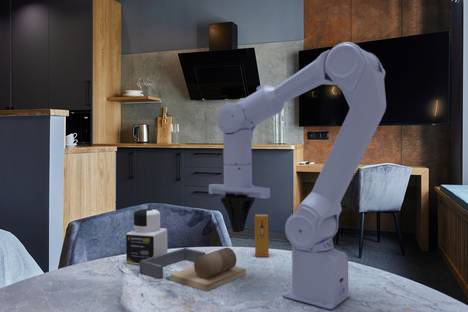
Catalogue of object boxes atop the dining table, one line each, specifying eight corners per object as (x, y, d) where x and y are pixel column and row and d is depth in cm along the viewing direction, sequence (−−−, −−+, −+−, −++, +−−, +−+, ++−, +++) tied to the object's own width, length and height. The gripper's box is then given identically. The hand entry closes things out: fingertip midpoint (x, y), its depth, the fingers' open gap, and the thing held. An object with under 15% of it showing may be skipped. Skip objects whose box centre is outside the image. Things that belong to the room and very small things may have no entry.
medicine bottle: (125, 263, 91) (125, 211, 91) (141, 255, 98) (141, 207, 98) (153, 266, 89) (153, 213, 89) (168, 257, 96) (167, 208, 96)
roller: (217, 260, 85) (232, 272, 83) (191, 269, 79) (206, 283, 76) (224, 243, 84) (239, 255, 81) (198, 251, 77) (213, 265, 75)
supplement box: (268, 253, 99) (268, 213, 99) (268, 257, 95) (268, 216, 95) (255, 253, 99) (255, 213, 99) (254, 257, 96) (254, 216, 96)
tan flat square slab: (245, 274, 83) (245, 268, 83) (207, 291, 74) (206, 284, 74) (205, 264, 90) (205, 259, 90) (165, 278, 81) (165, 272, 81)
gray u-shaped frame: (205, 263, 91) (205, 252, 91) (160, 278, 81) (159, 266, 80) (185, 258, 95) (185, 247, 95) (139, 272, 85) (139, 260, 85)
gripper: (278, 164, 79) (279, 232, 79) (223, 163, 88) (224, 223, 88) (257, 166, 73) (258, 239, 74) (201, 164, 83) (202, 229, 83)
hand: (238, 231), depth 81 cm, fingers closed
